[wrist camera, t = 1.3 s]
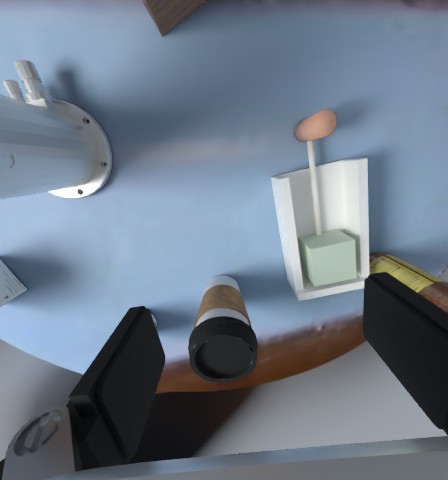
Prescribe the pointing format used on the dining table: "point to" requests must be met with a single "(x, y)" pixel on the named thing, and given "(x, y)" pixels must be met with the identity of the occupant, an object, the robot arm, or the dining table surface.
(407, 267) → the sauce bottle
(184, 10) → the tissue box cover
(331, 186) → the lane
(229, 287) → the coffee cup
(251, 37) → the dining table surface
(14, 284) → the supplement box
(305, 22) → the dining table surface
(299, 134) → the sliding handle
